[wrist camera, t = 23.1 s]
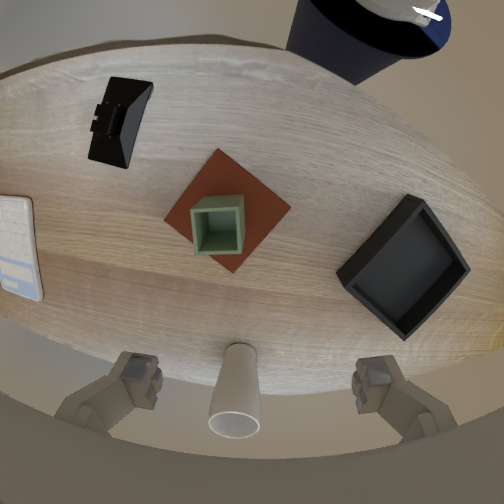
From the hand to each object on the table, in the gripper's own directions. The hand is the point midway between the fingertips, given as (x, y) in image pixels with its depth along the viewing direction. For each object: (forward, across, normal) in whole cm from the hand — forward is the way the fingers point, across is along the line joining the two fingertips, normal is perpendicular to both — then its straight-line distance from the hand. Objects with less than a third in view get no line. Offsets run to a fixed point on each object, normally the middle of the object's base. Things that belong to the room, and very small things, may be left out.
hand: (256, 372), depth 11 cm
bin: (+28, -21, +8) cm, 36 cm away
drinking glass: (+28, +4, +24) cm, 37 cm away
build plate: (+28, +20, -13) cm, 37 cm away
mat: (+28, +5, +1) cm, 28 cm away
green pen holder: (+28, +5, +1) cm, 28 cm away
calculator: (+27, +46, +5) cm, 54 cm away
